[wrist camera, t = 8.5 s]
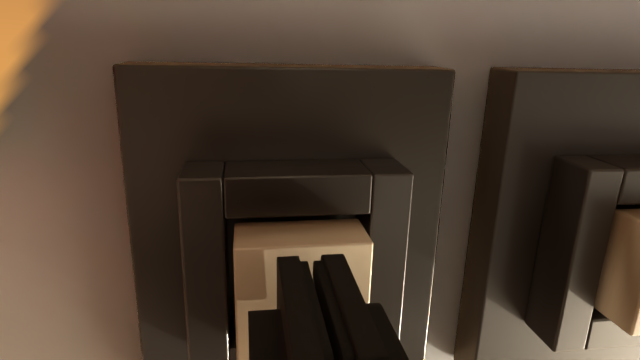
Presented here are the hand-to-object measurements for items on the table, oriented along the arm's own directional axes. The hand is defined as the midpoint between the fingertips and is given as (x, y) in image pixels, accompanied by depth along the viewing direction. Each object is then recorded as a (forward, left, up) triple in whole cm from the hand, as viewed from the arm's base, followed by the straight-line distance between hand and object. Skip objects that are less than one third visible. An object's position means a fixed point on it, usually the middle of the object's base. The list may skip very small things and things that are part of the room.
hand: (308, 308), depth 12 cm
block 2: (0, +12, -5) cm, 13 cm away
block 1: (0, 0, -5) cm, 5 cm away
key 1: (0, 0, -2) cm, 2 cm away
